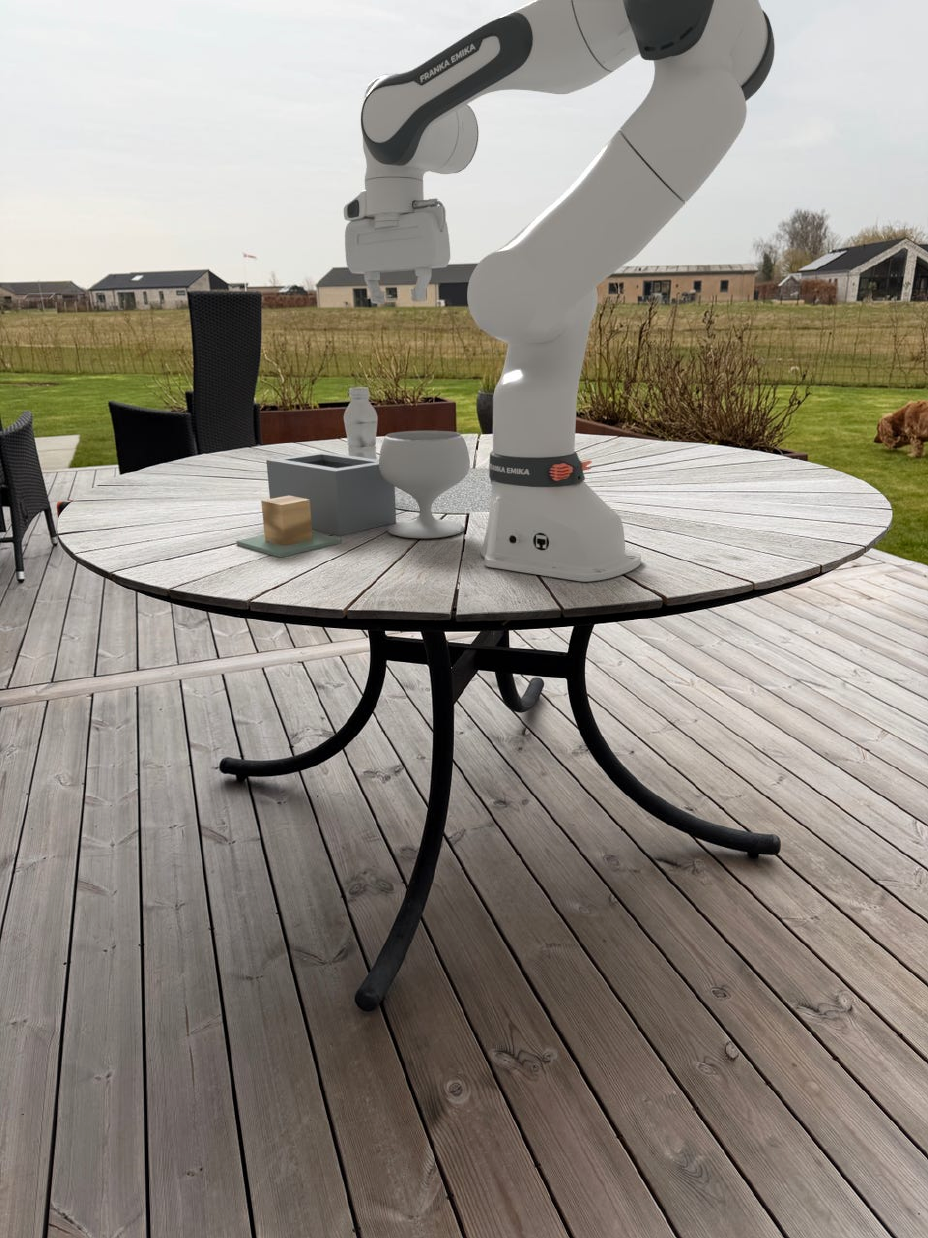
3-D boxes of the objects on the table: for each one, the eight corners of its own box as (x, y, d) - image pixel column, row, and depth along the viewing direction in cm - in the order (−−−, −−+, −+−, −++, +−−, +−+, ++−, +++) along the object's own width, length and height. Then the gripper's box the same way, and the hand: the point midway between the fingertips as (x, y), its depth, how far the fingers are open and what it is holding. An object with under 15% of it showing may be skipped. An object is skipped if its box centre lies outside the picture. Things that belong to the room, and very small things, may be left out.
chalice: (452, 518, 133) (450, 427, 128) (483, 536, 121) (483, 437, 116) (371, 525, 128) (367, 432, 123) (396, 545, 116) (392, 442, 111)
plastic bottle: (340, 495, 152) (333, 388, 146) (360, 489, 158) (355, 386, 151) (368, 498, 150) (362, 389, 143) (387, 492, 155) (383, 387, 148)
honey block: (312, 539, 117) (309, 499, 115) (285, 545, 114) (281, 504, 112) (292, 534, 121) (289, 495, 119) (265, 540, 117) (261, 500, 115)
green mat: (341, 542, 118) (341, 538, 118) (280, 557, 110) (279, 553, 110) (297, 531, 125) (296, 527, 125) (236, 544, 117) (236, 540, 117)
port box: (396, 522, 130) (393, 461, 127) (339, 535, 122) (335, 471, 118) (327, 508, 142) (323, 451, 138) (271, 519, 133) (266, 459, 130)
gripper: (459, 198, 115) (459, 300, 120) (366, 213, 128) (370, 304, 133) (428, 193, 110) (430, 299, 115) (336, 208, 123) (341, 303, 128)
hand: (397, 302), depth 124 cm, fingers open, 8 cm apart
